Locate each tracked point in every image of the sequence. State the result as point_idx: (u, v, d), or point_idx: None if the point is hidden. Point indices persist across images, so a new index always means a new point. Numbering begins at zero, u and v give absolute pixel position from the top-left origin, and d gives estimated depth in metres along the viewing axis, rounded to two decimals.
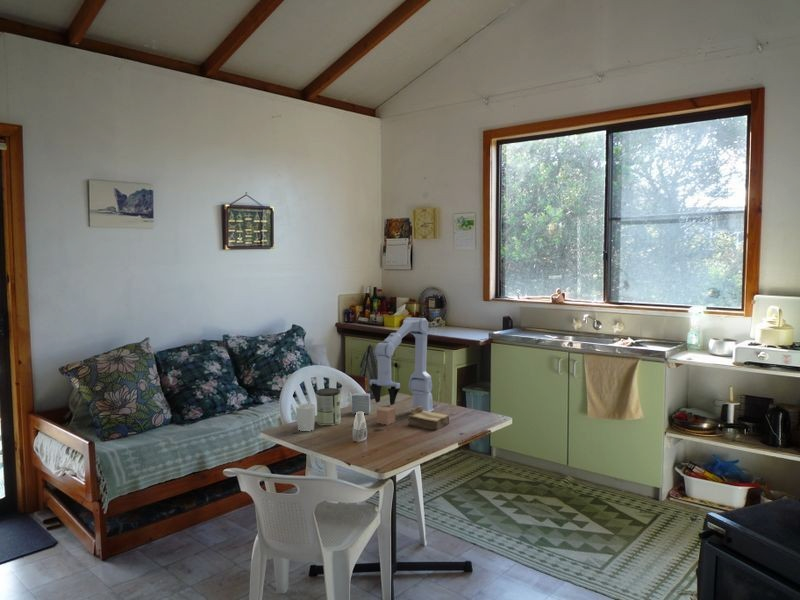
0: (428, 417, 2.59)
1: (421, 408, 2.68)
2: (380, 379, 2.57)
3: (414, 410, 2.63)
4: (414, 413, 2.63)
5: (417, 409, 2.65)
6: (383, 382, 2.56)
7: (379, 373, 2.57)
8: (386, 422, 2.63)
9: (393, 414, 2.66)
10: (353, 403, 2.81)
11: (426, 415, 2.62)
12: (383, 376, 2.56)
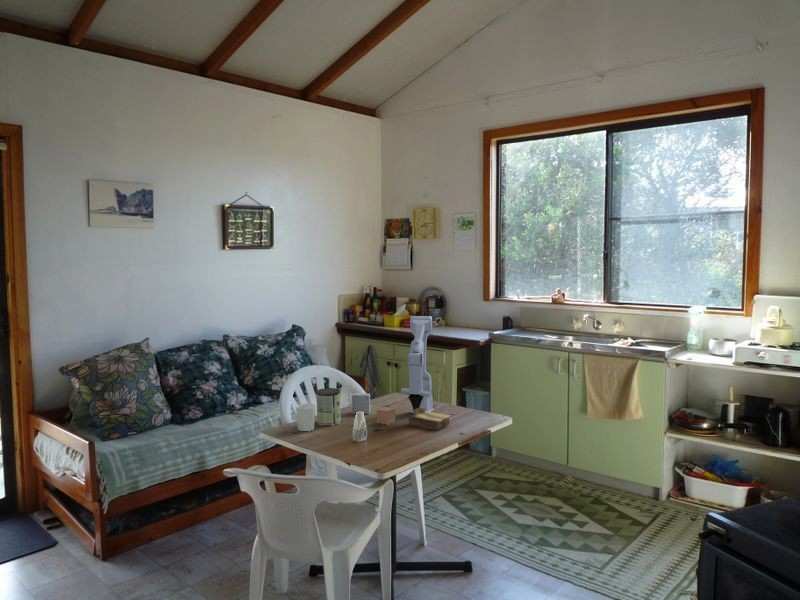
0: (431, 417, 2.58)
1: (424, 409, 2.67)
2: (412, 388, 2.63)
3: (417, 410, 2.62)
4: (417, 413, 2.62)
5: (420, 409, 2.64)
6: (415, 391, 2.62)
7: (411, 382, 2.63)
8: (386, 422, 2.63)
9: (393, 414, 2.66)
10: (353, 403, 2.81)
11: (429, 415, 2.62)
12: (415, 385, 2.62)
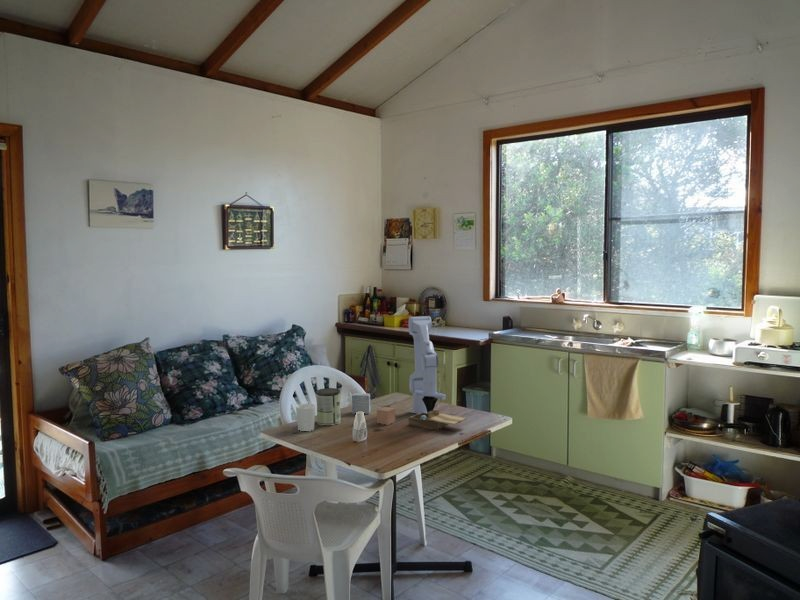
0: (445, 420, 2.54)
1: (438, 411, 2.63)
2: (426, 390, 2.59)
3: (431, 413, 2.58)
4: (431, 416, 2.58)
5: (434, 412, 2.60)
6: (429, 393, 2.58)
7: (425, 384, 2.59)
8: (386, 422, 2.63)
9: (393, 414, 2.66)
10: (353, 403, 2.81)
11: (443, 418, 2.58)
12: (429, 387, 2.58)
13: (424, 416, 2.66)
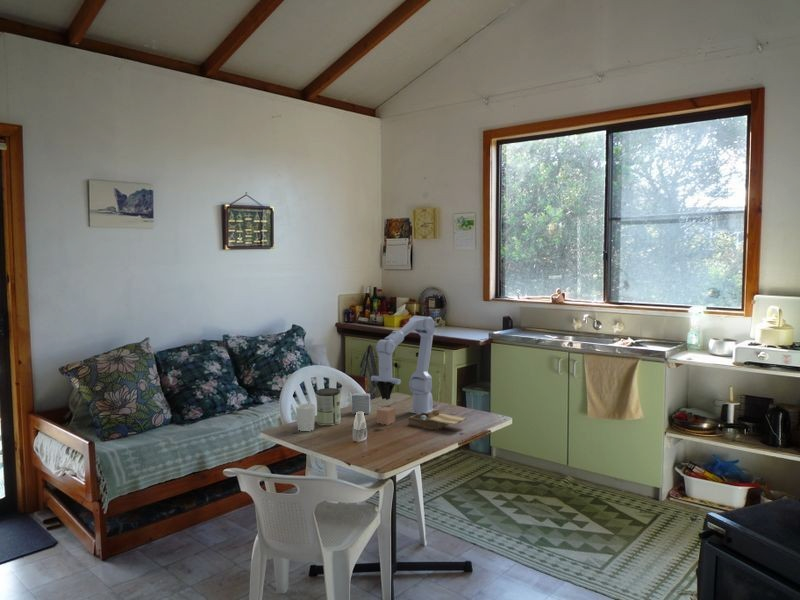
0: (446, 420, 2.54)
1: (438, 411, 2.63)
2: (381, 375, 2.62)
3: (431, 413, 2.58)
4: (431, 416, 2.58)
5: (434, 412, 2.60)
6: (384, 378, 2.62)
7: (380, 369, 2.63)
8: (386, 422, 2.63)
9: (393, 414, 2.66)
10: (353, 403, 2.81)
11: (443, 418, 2.58)
12: (384, 372, 2.62)
13: (424, 416, 2.66)
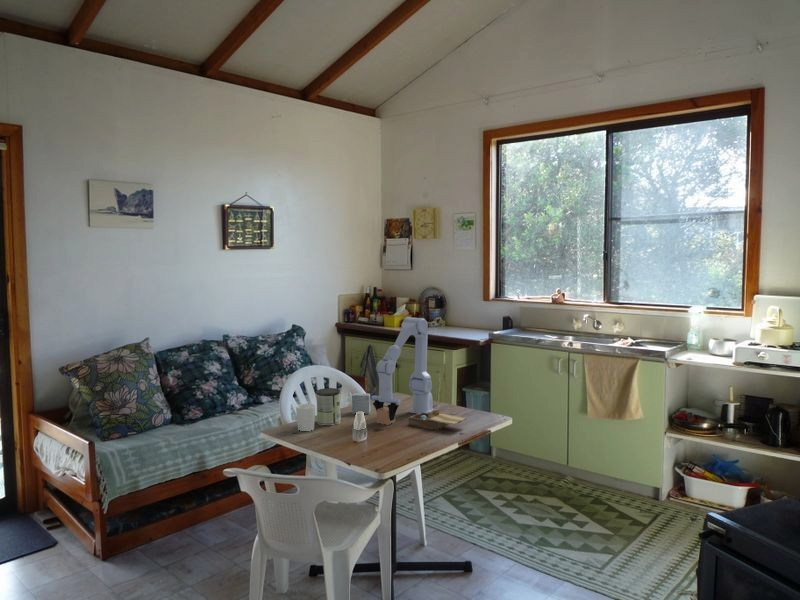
0: (446, 420, 2.54)
1: (438, 411, 2.63)
2: (381, 396, 2.63)
3: (431, 413, 2.58)
4: (431, 416, 2.58)
5: (434, 412, 2.60)
6: (384, 399, 2.63)
7: (380, 390, 2.63)
8: (386, 422, 2.63)
9: None
10: (353, 403, 2.81)
11: (443, 418, 2.58)
12: (384, 393, 2.63)
13: (424, 416, 2.66)
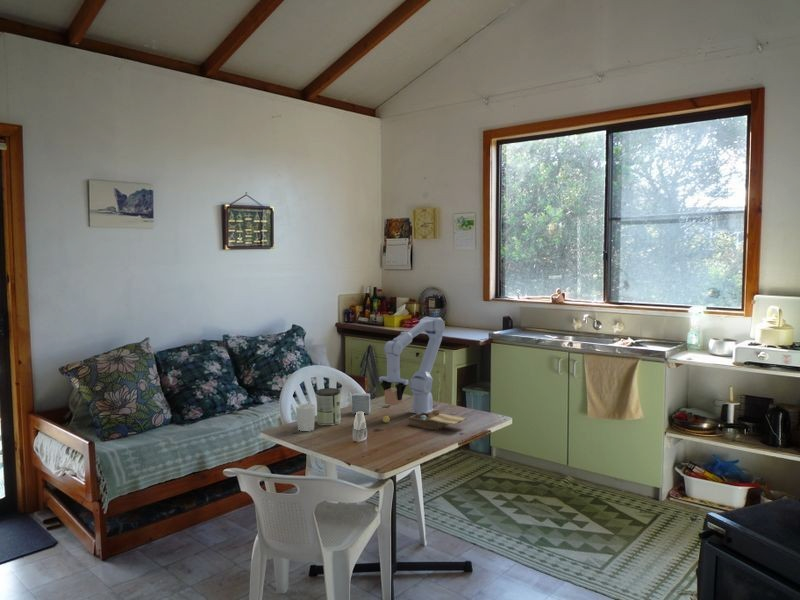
0: (446, 420, 2.54)
1: (438, 411, 2.63)
2: (389, 376, 2.69)
3: (431, 413, 2.58)
4: (431, 416, 2.58)
5: (434, 412, 2.60)
6: (392, 379, 2.68)
7: (388, 370, 2.69)
8: (394, 402, 2.68)
9: None
10: (353, 403, 2.81)
11: (443, 418, 2.58)
12: (392, 373, 2.68)
13: (424, 416, 2.66)
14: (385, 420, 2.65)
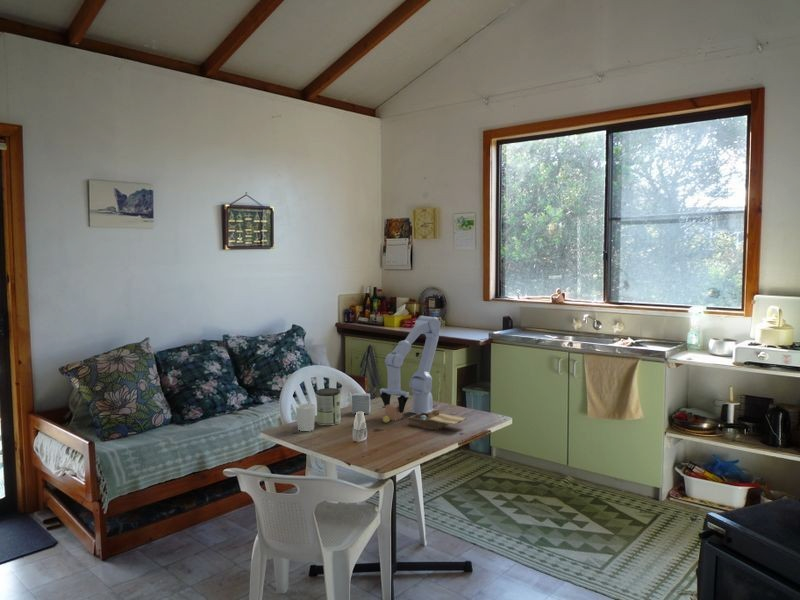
0: (446, 420, 2.54)
1: (438, 411, 2.63)
2: (390, 388, 2.70)
3: (431, 413, 2.58)
4: (431, 416, 2.58)
5: (434, 412, 2.60)
6: (393, 391, 2.69)
7: (389, 382, 2.70)
8: (394, 418, 2.69)
9: None
10: (353, 403, 2.81)
11: (443, 418, 2.58)
12: (393, 385, 2.69)
13: (424, 416, 2.66)
14: (385, 420, 2.65)
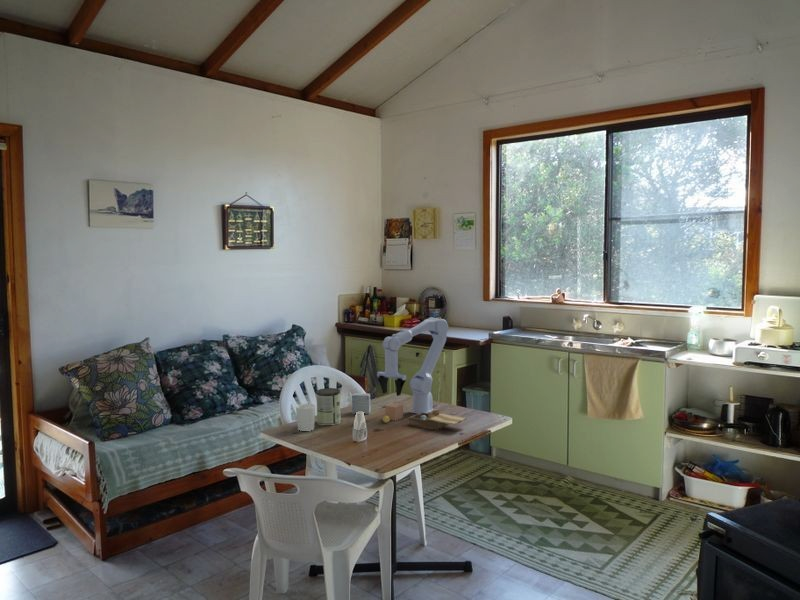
0: (446, 420, 2.54)
1: (438, 411, 2.63)
2: (387, 371, 2.71)
3: (431, 413, 2.58)
4: (431, 416, 2.58)
5: (434, 412, 2.60)
6: (390, 374, 2.71)
7: (386, 365, 2.71)
8: (394, 418, 2.69)
9: (401, 410, 2.72)
10: (353, 403, 2.81)
11: (443, 418, 2.58)
12: (390, 368, 2.70)
13: (424, 416, 2.66)
14: (385, 420, 2.65)
